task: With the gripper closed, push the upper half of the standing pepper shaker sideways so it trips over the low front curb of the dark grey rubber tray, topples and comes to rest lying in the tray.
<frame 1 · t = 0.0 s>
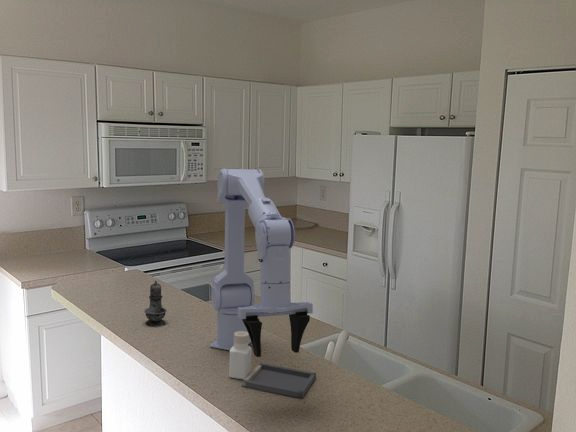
hand: (276, 353, 101), 11 cm above the countertop, tool pointing down, fingers open, 7 cm apart
pepper shaker: (239, 376, 115), on the countertop
tray: (279, 382, 113), on the countertop
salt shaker: (155, 323, 145), on the countertop
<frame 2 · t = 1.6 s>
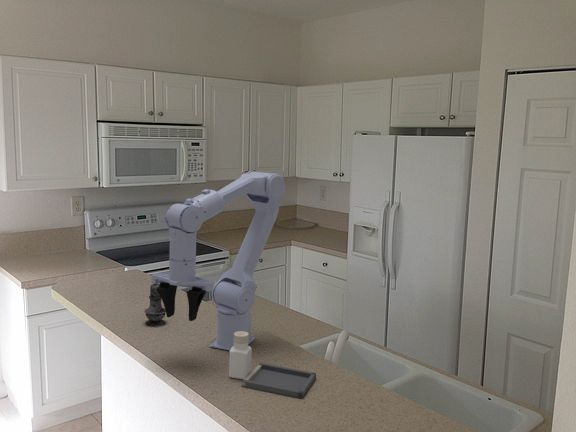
hand: (181, 317, 119), 10 cm above the countertop, tool pointing down, fingers open, 5 cm apart
nothing on the countertop moved.
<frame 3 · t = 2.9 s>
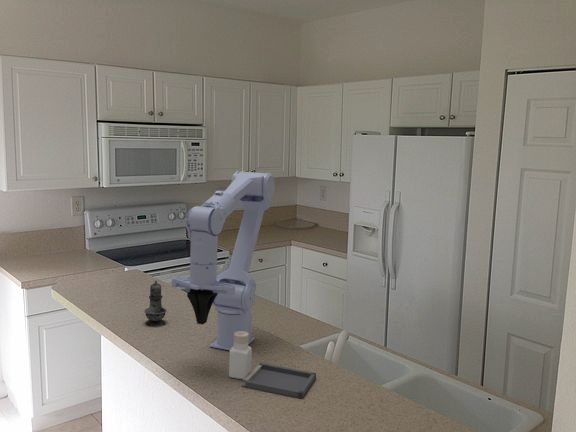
hand: (201, 322, 117), 10 cm above the countertop, tool pointing down, fingers closed
nothing on the countertop moved.
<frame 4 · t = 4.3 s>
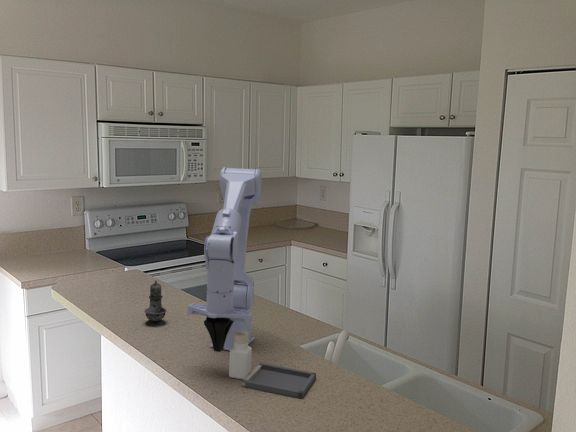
hand: (218, 349, 116), 5 cm above the countertop, tool pointing down, fingers closed
nothing on the countertop moved.
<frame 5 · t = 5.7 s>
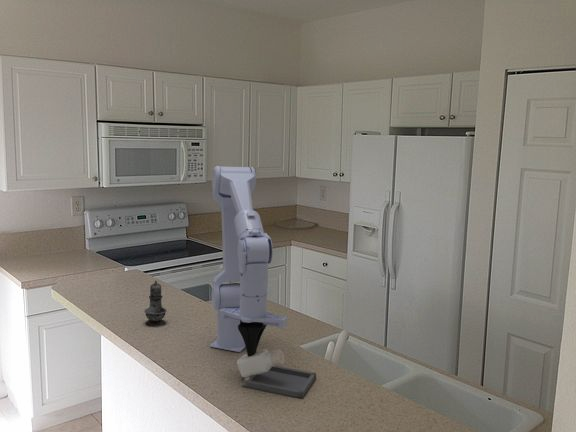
hand: (251, 355, 114), 5 cm above the countertop, tool pointing down, fingers closed, pressing on pepper shaker
pepper shaker: (241, 366, 115), point 2 cm above the countertop, touching gripper, tray
everything else where it was.
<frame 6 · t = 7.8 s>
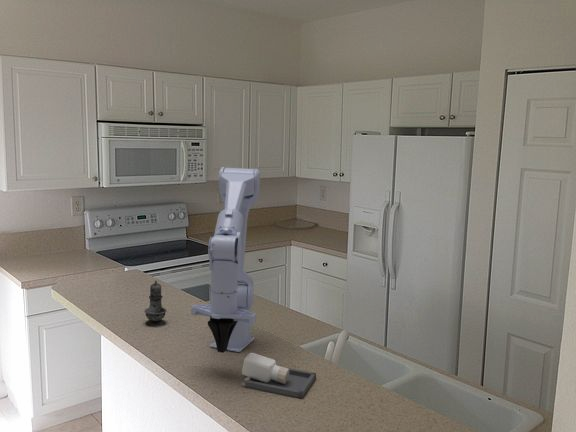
hand: (222, 350, 116), 5 cm above the countertop, tool pointing down, fingers closed
pepper shaker: (244, 362, 114), point 3 cm above the countertop, touching tray
everything else where it was.
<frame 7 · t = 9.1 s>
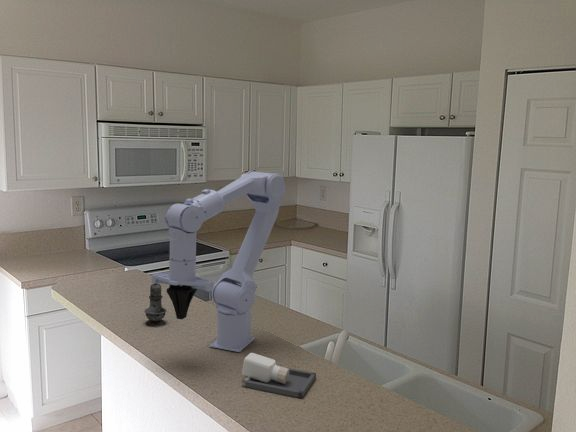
hand: (181, 317, 119), 10 cm above the countertop, tool pointing down, fingers closed
nothing on the countertop moved.
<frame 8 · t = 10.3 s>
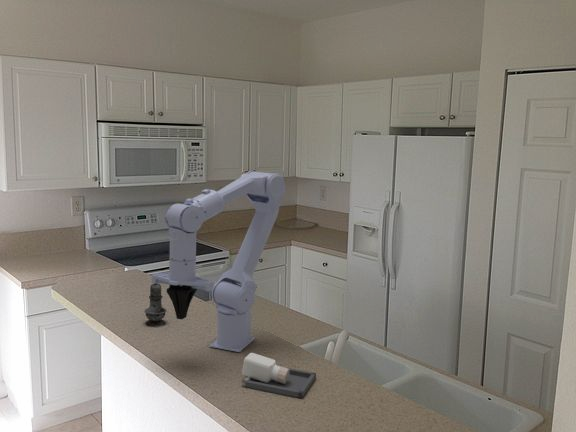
hand: (181, 317, 119), 10 cm above the countertop, tool pointing down, fingers closed
nothing on the countertop moved.
at the end: pepper shaker tilted 98°; pepper shaker inside the target area (7.4 cm from its centre), point 3.2 cm above the countertop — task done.
